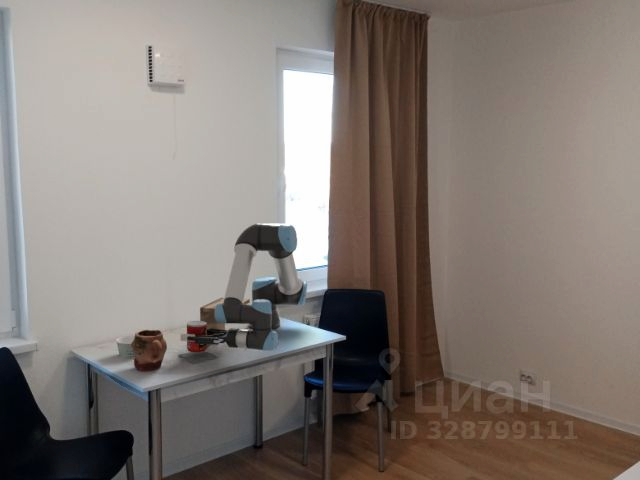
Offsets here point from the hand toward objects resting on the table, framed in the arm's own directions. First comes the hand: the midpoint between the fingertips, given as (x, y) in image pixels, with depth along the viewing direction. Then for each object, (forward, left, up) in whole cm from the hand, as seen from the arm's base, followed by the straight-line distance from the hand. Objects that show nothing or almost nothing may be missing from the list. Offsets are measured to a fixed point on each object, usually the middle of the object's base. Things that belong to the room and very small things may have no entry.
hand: (185, 334), depth 257 cm
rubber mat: (-3, +4, -9) cm, 10 cm away
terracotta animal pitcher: (+18, +5, -9) cm, 21 cm away
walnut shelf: (-23, -4, -9) cm, 25 cm away
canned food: (-3, +4, -6) cm, 8 cm away
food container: (+15, -17, -9) cm, 25 cm away
